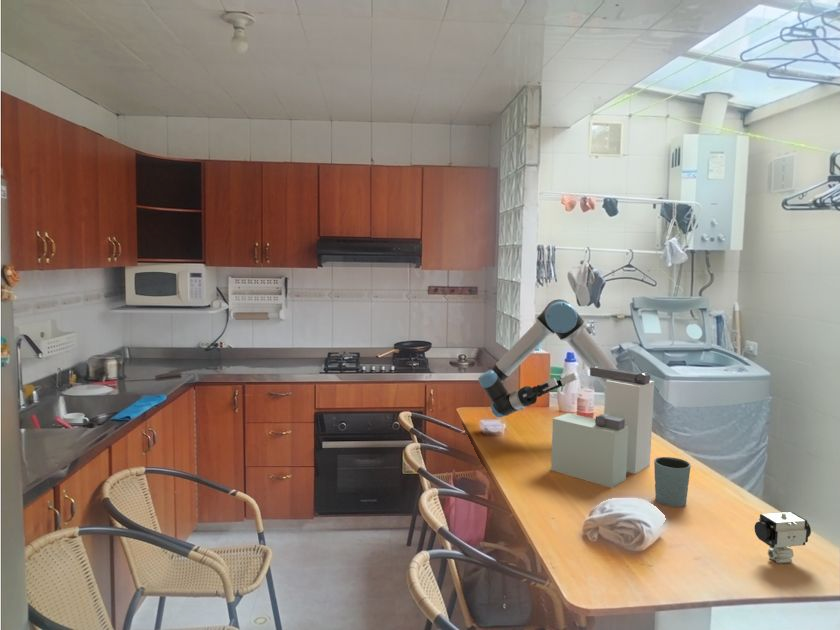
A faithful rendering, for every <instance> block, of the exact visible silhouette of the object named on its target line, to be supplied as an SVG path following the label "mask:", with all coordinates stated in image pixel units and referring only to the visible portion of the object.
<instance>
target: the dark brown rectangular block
mask: <svg viewBox="0 0 840 630" xmlns="http://www.w3.org/2000/svg"><path fill="white" fill-rule="evenodd" d="M589 377H595V378H596V377H601V378H607V379H613V380H619V381H625V382H631V383H637V384H643V385H645V384H648V383H650V381H651V374H650V373H649V372H647V371H645V372H637V371H632V370H631V371H630V370H624V369H619V368H617V369H612V368H605V367H599V366H594V367H590V369H589Z"/></svg>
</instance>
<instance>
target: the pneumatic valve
mask: <svg viewBox="0 0 840 630" xmlns="http://www.w3.org/2000/svg"><path fill="white" fill-rule="evenodd" d="M754 533H755V535H756V537H757V538H758V540H760V541H761V542H763V543H764V544H766V545H767V546H769V549H768V550H767V556H768V557H769V558H770V560H773V561H775V562H776V563H777V564H790V563H792V561H793V559H792V558H793V557H794V550H793V549H792V547H798V546H799V547H800V546H806V543H808V541H809V537H810V536H811V533H812V530H811V526H810V524H809V522H808V520H807V519H805V518H803V517H801V516H800V515H799V514H797V513H795V512H777V513H762V514H759V519H758V521H757V522H755V524H754Z"/></svg>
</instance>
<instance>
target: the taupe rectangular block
mask: <svg viewBox="0 0 840 630" xmlns="http://www.w3.org/2000/svg"><path fill="white" fill-rule="evenodd" d="M604 390H605V394H604V408H603V409H604V410H603V414H609V415H611V416H613V417H618V418H623V419H625V426H629V427H628V447H627V468H626V473H629V474H634V475H636V474H637V473H639V472H642V470H644V469H646V468H647V467H649V466H651V450H652V449H651V448H652V430H653V413H654V397H655V395H654V394H655V381H654V380H650V383H648V384H645V385H643V384H637V383H631V382H625V381H619V380H613V379H610V380H607V381H606V383H605V388H604Z"/></svg>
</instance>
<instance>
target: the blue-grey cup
mask: <svg viewBox="0 0 840 630" xmlns="http://www.w3.org/2000/svg"><path fill="white" fill-rule="evenodd" d="M653 462H654V463H653V464H654V482H655V483H654V488H655V490H654V491H655V501H656V502H657V503H659V504H661V505H664V506H666V507H670V508H682V507H685V506H686V504H687V501H688V500H687V497H688V490H689V482H690V473H691V467H692V466H691V463H690V462H689V461H687V460H684V459H682V458H676V457H671V456H669V457H668V456H661V457H660V456H659V457H657V458H655V459H654V460H653Z"/></svg>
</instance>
